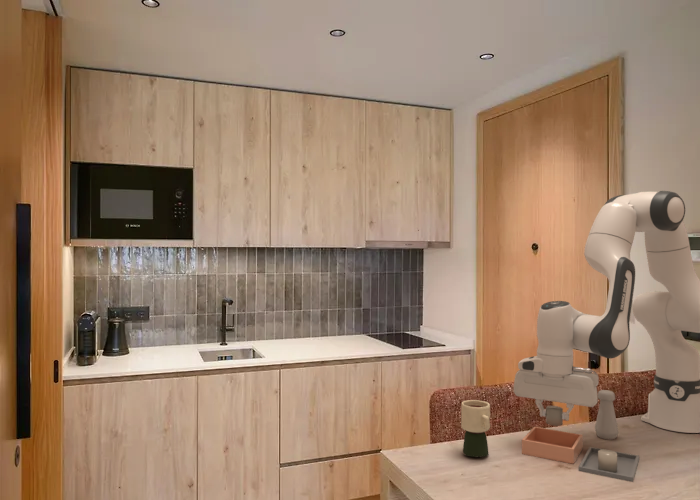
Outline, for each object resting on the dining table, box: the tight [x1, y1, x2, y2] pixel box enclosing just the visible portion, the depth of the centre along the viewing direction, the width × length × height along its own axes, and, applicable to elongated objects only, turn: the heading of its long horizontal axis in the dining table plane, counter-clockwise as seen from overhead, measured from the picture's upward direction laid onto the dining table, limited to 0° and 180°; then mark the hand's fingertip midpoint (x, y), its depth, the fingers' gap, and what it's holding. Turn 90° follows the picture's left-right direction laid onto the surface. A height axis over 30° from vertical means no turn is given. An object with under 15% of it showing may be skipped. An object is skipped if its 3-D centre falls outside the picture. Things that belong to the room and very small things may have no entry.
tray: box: [578, 446, 640, 483], centre depth 130 cm, size 15×11×1 cm
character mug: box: [460, 399, 491, 458], centre depth 137 cm, size 11×7×13 cm, turn 20°
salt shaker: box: [594, 389, 619, 440], centre depth 149 cm, size 6×6×13 cm
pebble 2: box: [598, 449, 617, 473], centre depth 127 cm, size 4×4×4 cm
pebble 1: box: [545, 405, 564, 427], centre depth 141 cm, size 4×4×4 cm
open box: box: [521, 426, 584, 465], centre depth 139 cm, size 12×12×4 cm
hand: (554, 418), depth 141 cm, fingers closed on pebble 1, 4 cm apart
